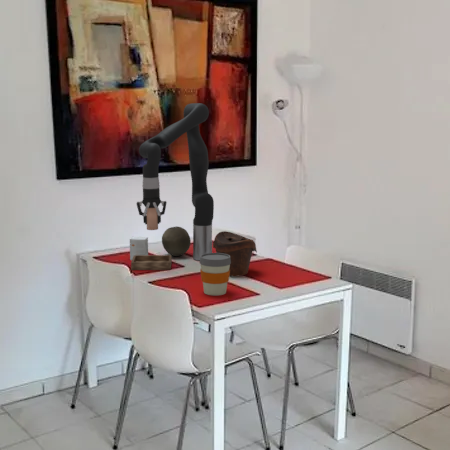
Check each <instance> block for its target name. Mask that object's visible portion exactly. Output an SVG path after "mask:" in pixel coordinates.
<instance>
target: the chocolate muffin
mask: <svg viewBox="0 0 450 450" xmlns="http://www.w3.org/2000/svg"><path fill="white" fill-rule="evenodd" d="M213 248H214V249H215V253H224V254H228V255H230V259H231V264H230V268H229V269H230V275H229V277H239V276H240V277H241V276H245V275H247V274H248V273H249V267H250V264H251V259H252V255H253V252H255V253H257V252H258V251H257V245H256V242H255V241H254V239H252V238H248V237H245V236H243V235H240V234H237V233H234V232H231V231H226V230H225V231H220V232H218V233H217V234H216V235H215V237H214V239H213V241H212V249H213Z"/></svg>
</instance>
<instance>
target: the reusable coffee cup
mask: <svg viewBox="0 0 450 450" xmlns="http://www.w3.org/2000/svg"><path fill="white" fill-rule="evenodd" d="M199 264H200V271H199V272H200V278H201V279H200V281H201V282H202V286H203V287H202V288H203V293H204V294H205V295H208V296H222V295H225V294H227V288H228V282H229V281H230V280H229V279H230V276H229V275H230V269H229V268H230V264H231V259H230V255H228V254H224V253H216V252H212V253H206V254H202V255H201V256H200V261H199Z"/></svg>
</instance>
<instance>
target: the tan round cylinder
mask: <svg viewBox="0 0 450 450" xmlns="http://www.w3.org/2000/svg"><path fill="white" fill-rule="evenodd" d="M146 218H147V224H146V230H147V231H157V230H159V224H158V214H157V212H156V208H147V213H146Z"/></svg>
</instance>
